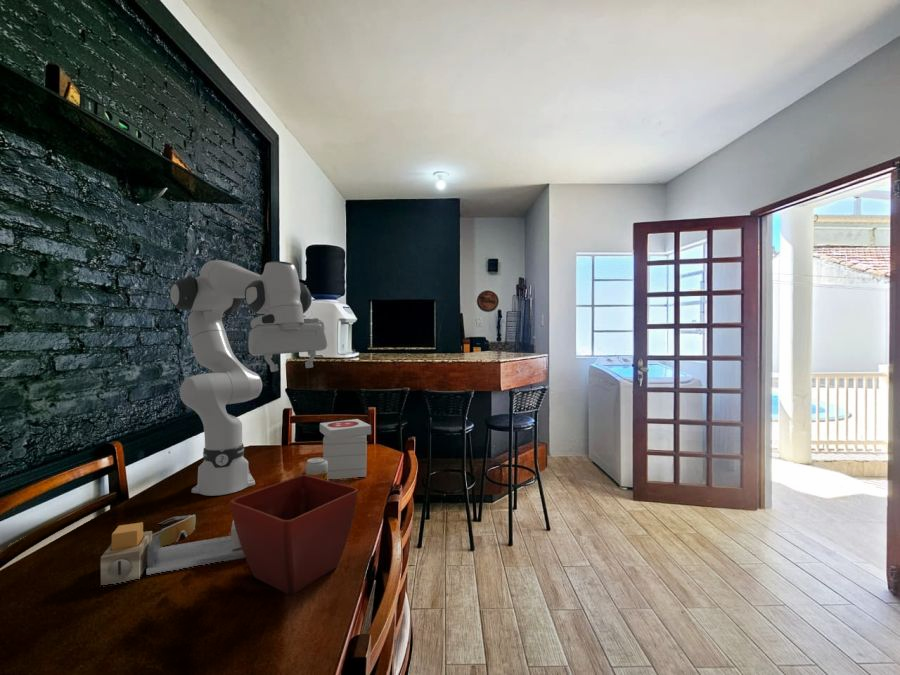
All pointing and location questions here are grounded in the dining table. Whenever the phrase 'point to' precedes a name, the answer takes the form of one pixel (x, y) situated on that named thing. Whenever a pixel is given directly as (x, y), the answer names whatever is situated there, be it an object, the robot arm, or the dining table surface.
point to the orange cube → (127, 536)
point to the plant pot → (294, 530)
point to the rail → (190, 554)
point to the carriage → (234, 538)
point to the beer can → (317, 468)
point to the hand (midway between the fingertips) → (292, 369)
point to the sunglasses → (176, 530)
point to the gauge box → (125, 562)
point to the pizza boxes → (345, 448)
